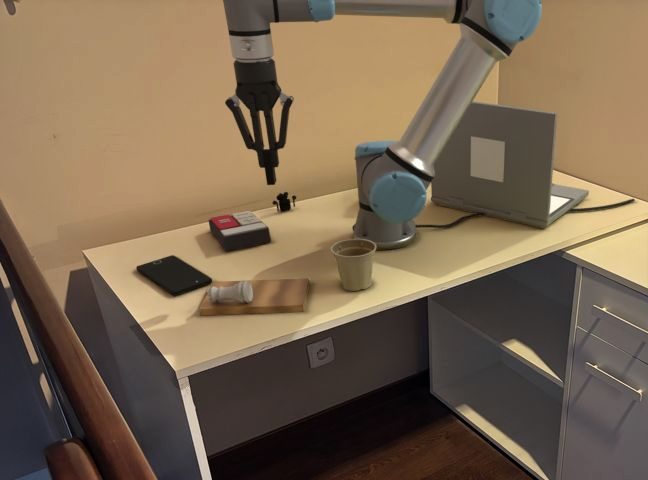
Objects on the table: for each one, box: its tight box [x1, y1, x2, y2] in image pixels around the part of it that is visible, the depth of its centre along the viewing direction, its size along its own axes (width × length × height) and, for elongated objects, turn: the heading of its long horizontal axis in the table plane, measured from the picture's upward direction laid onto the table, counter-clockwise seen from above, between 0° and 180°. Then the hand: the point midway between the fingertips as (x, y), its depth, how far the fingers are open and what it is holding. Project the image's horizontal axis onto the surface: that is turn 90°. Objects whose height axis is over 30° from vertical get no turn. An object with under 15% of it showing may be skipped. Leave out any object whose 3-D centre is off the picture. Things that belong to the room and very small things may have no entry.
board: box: [199, 277, 311, 316], centre depth 139 cm, size 20×12×2 cm, turn 94°
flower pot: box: [330, 238, 377, 292], centre depth 143 cm, size 9×9×9 cm
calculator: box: [208, 210, 272, 252], centre depth 167 cm, size 11×4×15 cm
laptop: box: [430, 100, 590, 229], centre depth 180 cm, size 35×26×28 cm
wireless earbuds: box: [272, 191, 297, 213], centre depth 181 cm, size 7×2×5 cm, turn 131°
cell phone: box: [135, 254, 213, 296], centre depth 148 cm, size 9×18×1 cm, turn 46°
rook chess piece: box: [206, 280, 253, 303], centre depth 135 cm, size 4×4×8 cm
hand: (271, 182), depth 139 cm, fingers closed
